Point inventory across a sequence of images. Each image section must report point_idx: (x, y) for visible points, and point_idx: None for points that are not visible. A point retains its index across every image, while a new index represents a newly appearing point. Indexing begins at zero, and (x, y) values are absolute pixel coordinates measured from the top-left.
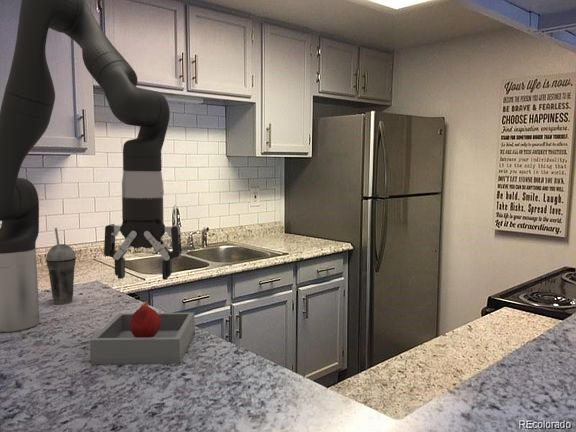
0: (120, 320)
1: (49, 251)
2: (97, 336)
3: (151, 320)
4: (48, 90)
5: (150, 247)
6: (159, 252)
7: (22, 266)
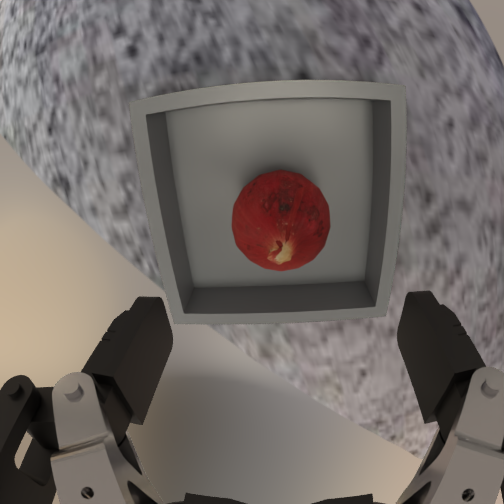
0: (374, 286)
1: None
2: (395, 114)
3: (246, 198)
4: None
5: (187, 501)
6: (104, 436)
7: None
